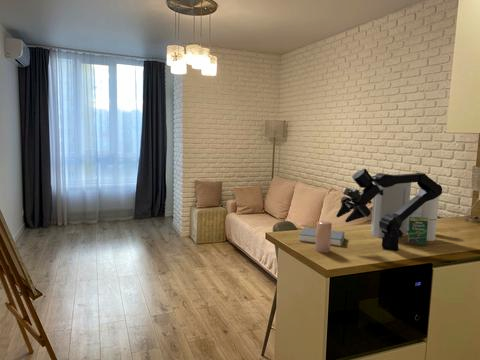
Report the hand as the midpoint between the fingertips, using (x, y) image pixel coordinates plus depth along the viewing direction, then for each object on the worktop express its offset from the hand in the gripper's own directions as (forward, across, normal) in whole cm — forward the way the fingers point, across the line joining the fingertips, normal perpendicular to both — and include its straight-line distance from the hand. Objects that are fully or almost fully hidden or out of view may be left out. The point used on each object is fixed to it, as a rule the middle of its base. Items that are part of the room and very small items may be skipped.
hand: (341, 219), depth 159 cm
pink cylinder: (+16, +1, +4) cm, 16 cm away
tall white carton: (-16, -26, +36) cm, 47 cm away
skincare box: (-29, -30, +48) cm, 64 cm away
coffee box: (-20, -5, +39) cm, 45 cm away
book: (+11, -16, +9) cm, 21 cm away
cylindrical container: (-29, -13, +47) cm, 57 cm away
